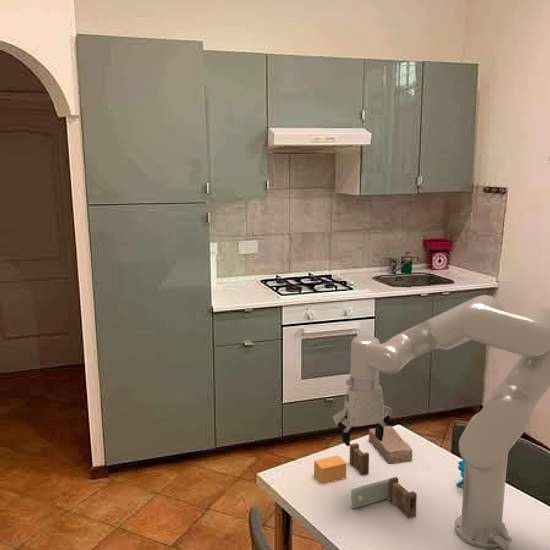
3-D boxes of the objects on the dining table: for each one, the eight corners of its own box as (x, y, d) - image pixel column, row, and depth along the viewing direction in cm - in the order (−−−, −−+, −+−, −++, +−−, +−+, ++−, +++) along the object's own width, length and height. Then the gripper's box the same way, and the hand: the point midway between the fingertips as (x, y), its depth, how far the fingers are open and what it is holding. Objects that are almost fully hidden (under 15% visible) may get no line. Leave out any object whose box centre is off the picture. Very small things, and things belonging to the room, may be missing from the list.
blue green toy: (482, 497, 157) (458, 465, 160) (465, 507, 160) (441, 475, 163) (490, 483, 167) (467, 453, 170) (473, 493, 169) (451, 463, 172)
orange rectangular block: (346, 478, 170) (346, 463, 169) (321, 484, 167) (322, 468, 166) (337, 470, 175) (338, 455, 174) (314, 476, 172) (314, 460, 171)
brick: (413, 462, 180) (414, 448, 179) (388, 465, 178) (389, 451, 177) (390, 437, 195) (391, 424, 195) (367, 440, 193) (367, 427, 193)
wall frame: (415, 516, 152) (416, 493, 151) (408, 518, 151) (409, 496, 150) (356, 462, 179) (356, 442, 178) (349, 464, 178) (349, 444, 177)
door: (390, 494, 161) (390, 478, 160) (395, 499, 159) (396, 482, 158) (350, 506, 156) (351, 489, 155) (355, 511, 154) (356, 493, 153)
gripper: (339, 391, 149) (338, 452, 152) (400, 383, 154) (397, 443, 157) (328, 380, 156) (327, 439, 159) (387, 373, 161) (384, 430, 164)
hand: (362, 441), depth 158 cm, fingers open, 9 cm apart
